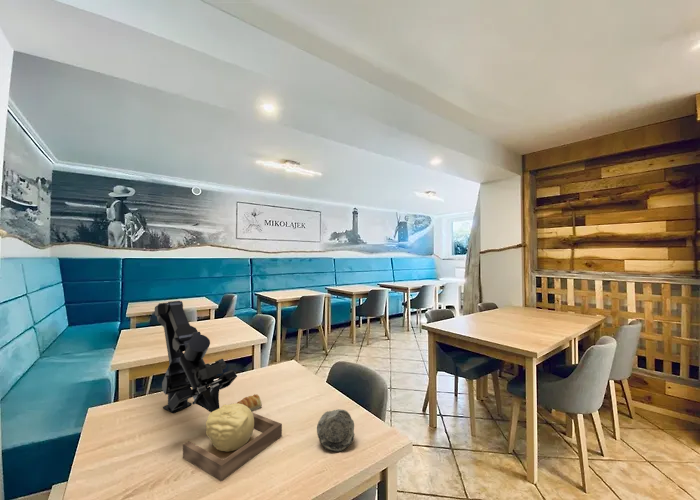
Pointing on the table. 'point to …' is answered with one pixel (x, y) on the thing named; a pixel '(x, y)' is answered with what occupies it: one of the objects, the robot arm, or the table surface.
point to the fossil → (335, 430)
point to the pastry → (251, 402)
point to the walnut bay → (239, 457)
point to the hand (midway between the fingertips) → (218, 414)
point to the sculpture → (230, 426)
